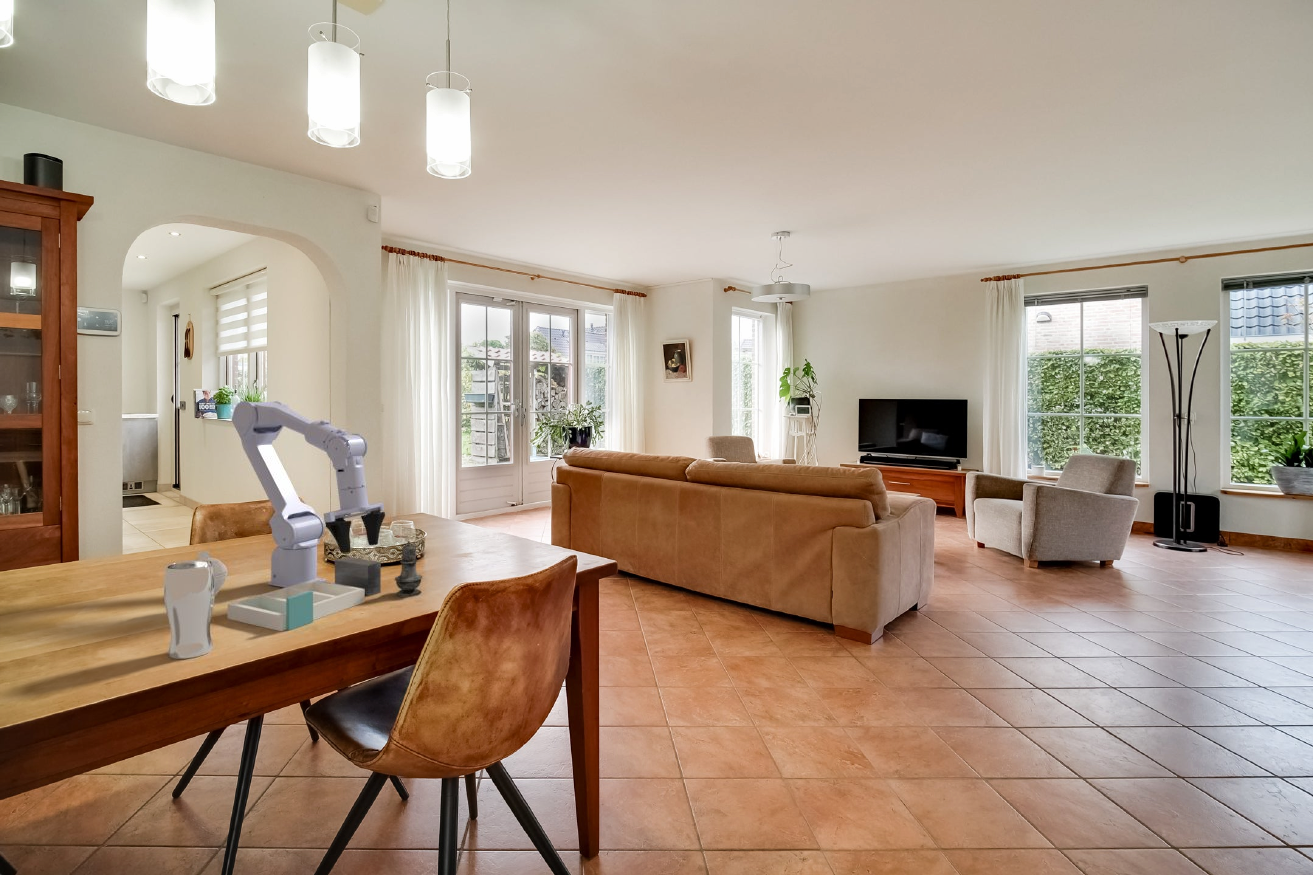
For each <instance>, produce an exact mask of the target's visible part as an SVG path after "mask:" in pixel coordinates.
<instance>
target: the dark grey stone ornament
mask: <svg viewBox="0 0 1313 875" xmlns="http://www.w3.org/2000/svg"><path fill="white" fill-rule="evenodd" d="M401 549H402V550H401V560H400V561H399V562H400V563H401V571H400V575H398V576H396V577H394V581H395V583H396V586H397V588H398V589H400V590H398V591H397V592H396V593H395V596H396V597H400V598H410V597H417V596H419V595H421V594H422V591H421V589H420V590H419V589H418V588H419V587H420V585H421V582H422V579H423V578H424V577H423V575H422V574H418V573H417V562H418V559H417V555H416V554H417V550H416V546H415V545H414V544H411V541H410V540H408V541H407V543H406V544H405V545H403V546H402V548H401Z"/></svg>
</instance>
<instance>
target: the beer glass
mask: <svg viewBox="0 0 1313 875" xmlns="http://www.w3.org/2000/svg"><path fill="white" fill-rule="evenodd" d="M164 570H165V571H164V581H163V582H164V583H163V598H164V605H165V606H164V607H165V611H166V615H167V619H168V623H169V628H170V643H169V648H168V655H167V657H168V658H169V659H173V660H174V659H175V660H186V659H193V658H197V657H200V656H203V655H206V654H208V653H210V652H212V650H213V649H214V644H213V639H212V635H211V622H212V621H211V620H212V617H213V610H214V605H215V597H216V596H215V587H216V585H215V572H214V562H213V561H210V560H196V559H192V560H183V561H177V562H173V563H171V564H168V565H166V566H165V567H164Z"/></svg>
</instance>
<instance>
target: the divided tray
mask: <svg viewBox="0 0 1313 875" xmlns="http://www.w3.org/2000/svg"><path fill="white" fill-rule="evenodd" d="M365 598H366V596H365V589H362V588H357V587H351V586H346V585H340V584H335V582H328V581H325V582H324V581H319V580H311V581H308V582H304V583H300V584H297V585H293V586H290V587H286V588H284V587H282V588H279V589H277V590H276V589H275V590H272V591H269V592H266V593H262V594H259V595H255V596H252V597H251V596H250V597H248V598H243V599H241V600H237V601H234V602H230V603H227V619H228V620H232V621H236V622H239V623H240V622H241V623H245V624H248V625H249V624H250V625H251V626H252V625H253V626H258V627H260V628H266V629H269V630H274V631H279V632H283V631H286V630H287V631H292V630H295V629H297V628H300V627H303V626H305V625H310V624H312V623H314V621H315V620H318V619H320V618H324V617H326V616H327V617H328V616H329V615H333V614H336V613H338V612H341V611H345V610H347V609H349V608H352V607H355V606H358V605H360V604H364V603H365Z"/></svg>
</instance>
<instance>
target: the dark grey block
mask: <svg viewBox="0 0 1313 875" xmlns="http://www.w3.org/2000/svg"><path fill="white" fill-rule="evenodd" d="M381 565H382V564H381V561H377V560H376V561H375V560H372V559H371V560H369V559H363V558H358V557H351V556H345V557H342V558H337V559H335V560H334V583H335V584H340V585H346V586H351V587H357V588H362V589H365V597H368V598H369V597H371V596H374V595H376V594H377V595H378V594H379V593H381V591H382V590H381V586H382V585H381V581H382V580H381V577H382V576H381V572H382V570H381V569H382V568H381Z"/></svg>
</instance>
